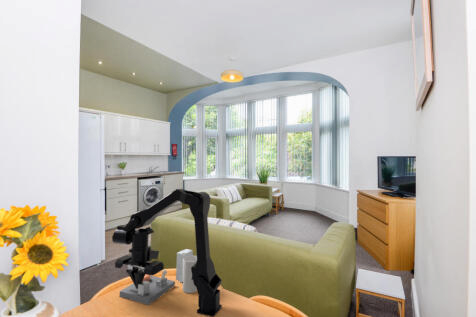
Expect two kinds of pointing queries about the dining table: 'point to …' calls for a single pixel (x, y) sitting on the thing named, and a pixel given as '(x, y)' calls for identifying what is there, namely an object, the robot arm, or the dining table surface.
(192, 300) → the dining table surface
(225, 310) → the dining table surface
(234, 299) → the dining table surface
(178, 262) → the skincare box
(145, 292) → the block
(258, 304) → the dining table surface
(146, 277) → the push button
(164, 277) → the toggle lever
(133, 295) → the control panel
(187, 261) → the mug
